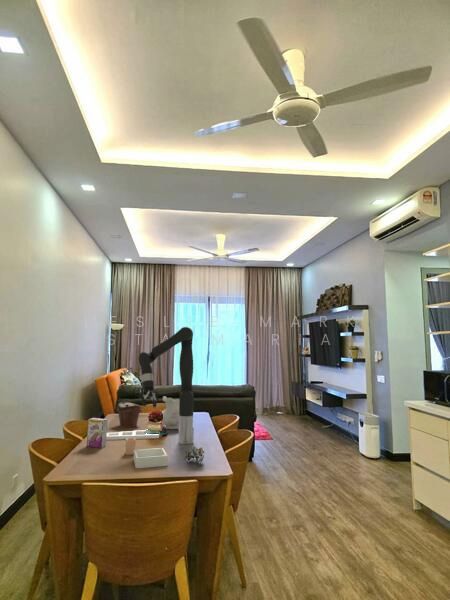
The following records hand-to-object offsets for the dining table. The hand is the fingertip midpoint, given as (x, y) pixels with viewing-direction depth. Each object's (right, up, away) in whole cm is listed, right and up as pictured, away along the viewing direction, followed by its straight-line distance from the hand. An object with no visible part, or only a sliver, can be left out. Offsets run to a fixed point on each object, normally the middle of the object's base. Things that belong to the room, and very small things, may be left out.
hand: (149, 406), depth 230 cm
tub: (-8, -22, -18) cm, 29 cm away
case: (-28, -32, +58) cm, 72 cm away
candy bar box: (-32, -24, -4) cm, 40 cm away
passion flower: (+31, -20, -36) cm, 51 cm away
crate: (+7, -20, -34) cm, 40 cm away
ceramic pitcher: (+8, -32, +53) cm, 62 cm away
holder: (-22, -28, +24) cm, 42 cm away
